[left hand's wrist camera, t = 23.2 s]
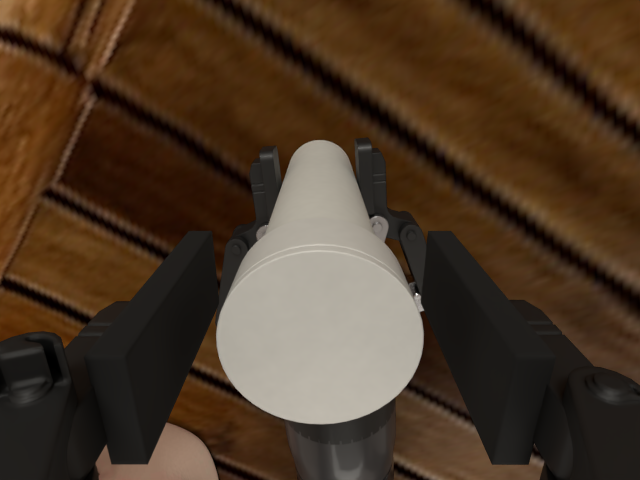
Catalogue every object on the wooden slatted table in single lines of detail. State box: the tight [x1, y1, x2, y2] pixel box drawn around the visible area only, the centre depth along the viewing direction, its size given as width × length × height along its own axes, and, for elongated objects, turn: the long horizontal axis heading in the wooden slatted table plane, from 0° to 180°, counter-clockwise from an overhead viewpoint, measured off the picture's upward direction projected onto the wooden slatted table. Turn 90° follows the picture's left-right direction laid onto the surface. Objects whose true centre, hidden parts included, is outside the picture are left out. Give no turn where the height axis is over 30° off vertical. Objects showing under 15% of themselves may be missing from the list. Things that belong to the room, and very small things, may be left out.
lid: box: [216, 218, 424, 424], centre depth 11 cm, size 5×5×2 cm
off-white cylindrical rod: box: [265, 140, 375, 235], centre depth 20 cm, size 4×4×18 cm
